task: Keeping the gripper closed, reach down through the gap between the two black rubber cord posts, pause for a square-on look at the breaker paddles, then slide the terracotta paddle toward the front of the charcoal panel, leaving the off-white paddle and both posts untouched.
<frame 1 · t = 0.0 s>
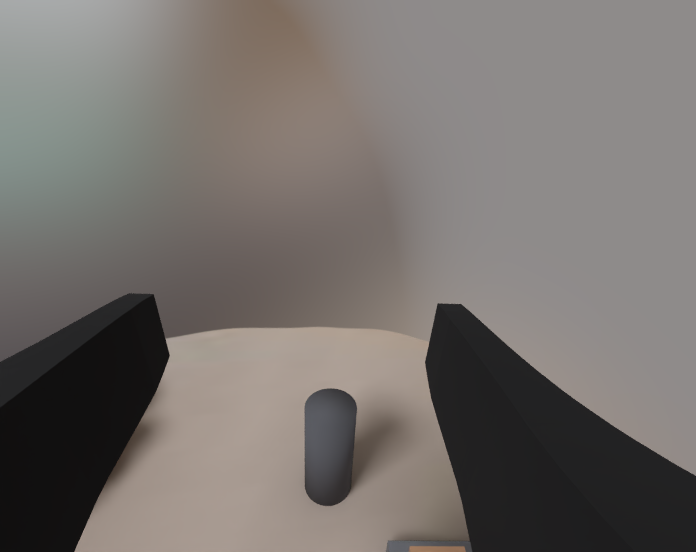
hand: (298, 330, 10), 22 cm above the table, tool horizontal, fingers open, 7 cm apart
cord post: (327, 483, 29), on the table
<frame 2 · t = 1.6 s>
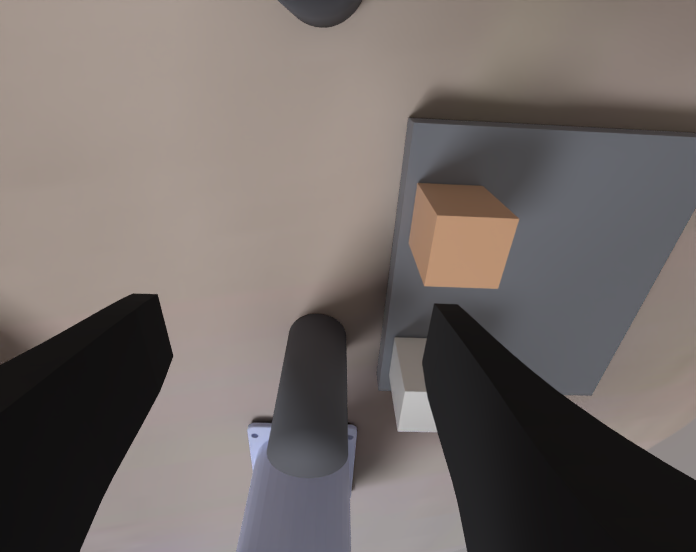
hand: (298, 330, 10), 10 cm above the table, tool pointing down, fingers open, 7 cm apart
breaker panel: (511, 274, 21), on the table
terracotta paddle: (455, 232, 16), point 4 cm above the table, slide at 0.0 cm
white paddle: (423, 382, 20), point 4 cm above the table, slide at 0.0 cm
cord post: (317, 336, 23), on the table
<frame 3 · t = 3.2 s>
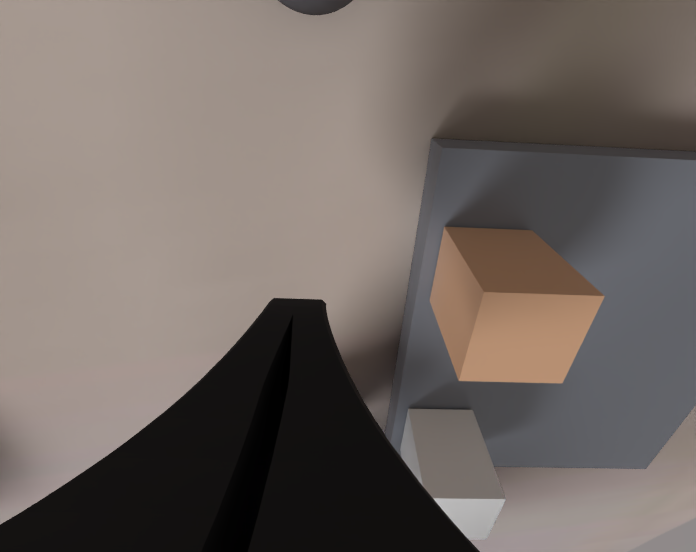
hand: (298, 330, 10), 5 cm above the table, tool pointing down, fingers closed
breaker panel: (554, 330, 17), on the table
terracotta paddle: (498, 298, 11), point 4 cm above the table, slide at 0.0 cm
white paddle: (445, 470, 16), point 4 cm above the table, slide at 0.0 cm
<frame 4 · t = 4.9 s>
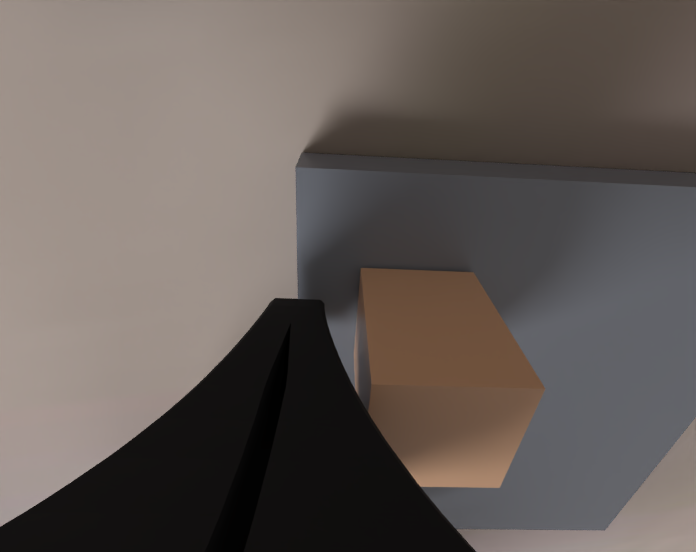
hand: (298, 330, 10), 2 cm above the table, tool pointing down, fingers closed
breaker panel: (488, 378, 14), on the table
terracotta paddle: (423, 366, 9), point 4 cm above the table, slide at 1.2 cm, touching gripper
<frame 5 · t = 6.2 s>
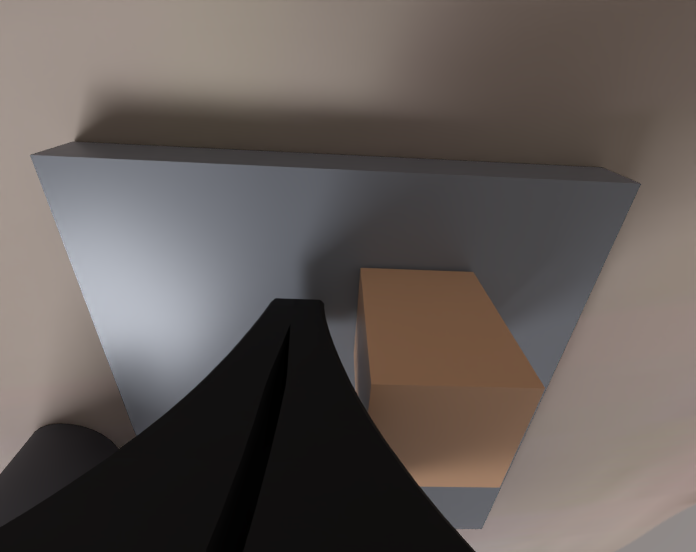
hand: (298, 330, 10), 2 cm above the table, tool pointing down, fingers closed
breaker panel: (335, 374, 14), on the table
terracotta paddle: (422, 366, 9), point 4 cm above the table, slide at 7.0 cm, touching gripper
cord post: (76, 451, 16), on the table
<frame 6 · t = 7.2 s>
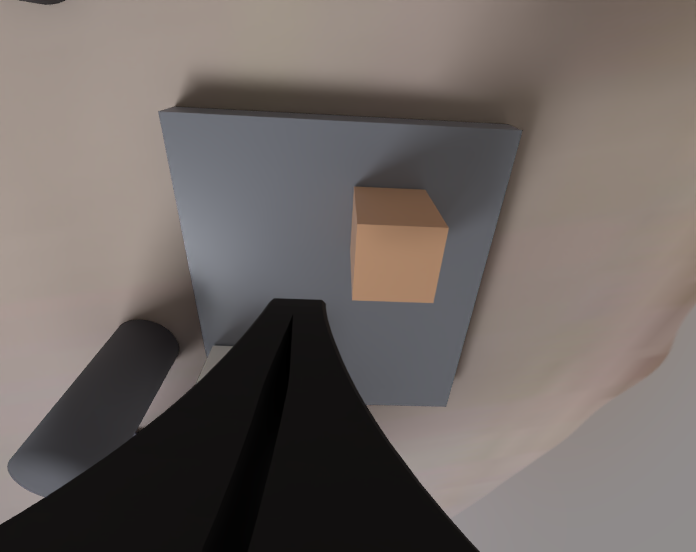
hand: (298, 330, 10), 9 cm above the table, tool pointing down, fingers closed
breaker panel: (336, 278, 20), on the table
terracotta paddle: (391, 241, 14), point 4 cm above the table, slide at 7.0 cm
white paddle: (234, 395, 19), point 4 cm above the table, slide at 0.0 cm
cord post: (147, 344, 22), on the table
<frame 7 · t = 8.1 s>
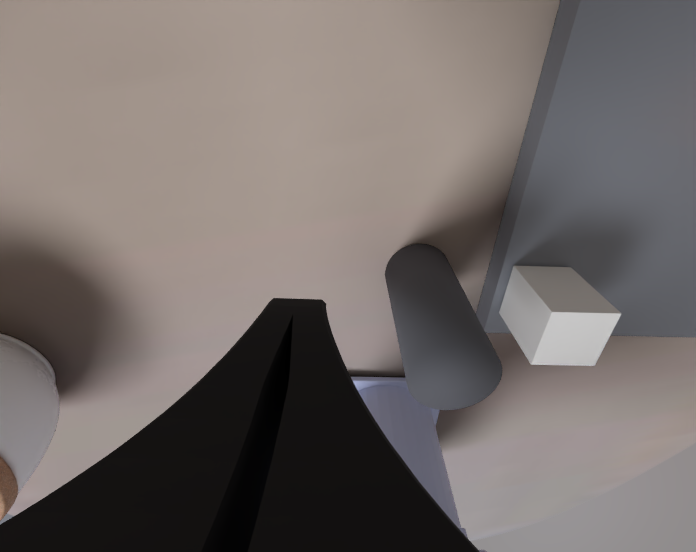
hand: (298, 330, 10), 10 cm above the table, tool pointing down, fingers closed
lidded jar: (8, 365, 24), on the table
breaker panel: (645, 193, 19), on the table
white paddle: (552, 313, 18), point 4 cm above the table, slide at 0.0 cm
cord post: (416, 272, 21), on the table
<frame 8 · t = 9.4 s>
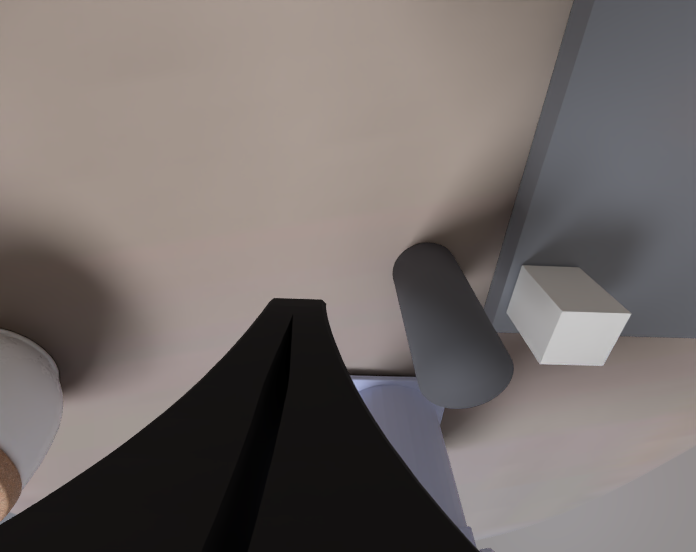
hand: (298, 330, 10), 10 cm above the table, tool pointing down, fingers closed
lidded jar: (11, 361, 24), on the table
breaker panel: (653, 194, 19), on the table
white paddle: (560, 312, 18), point 4 cm above the table, slide at 0.0 cm
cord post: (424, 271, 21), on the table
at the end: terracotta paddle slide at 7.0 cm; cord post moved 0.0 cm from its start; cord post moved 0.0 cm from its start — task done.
